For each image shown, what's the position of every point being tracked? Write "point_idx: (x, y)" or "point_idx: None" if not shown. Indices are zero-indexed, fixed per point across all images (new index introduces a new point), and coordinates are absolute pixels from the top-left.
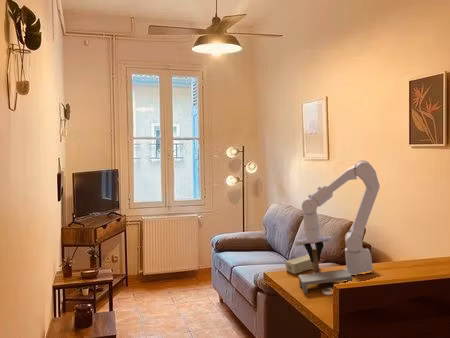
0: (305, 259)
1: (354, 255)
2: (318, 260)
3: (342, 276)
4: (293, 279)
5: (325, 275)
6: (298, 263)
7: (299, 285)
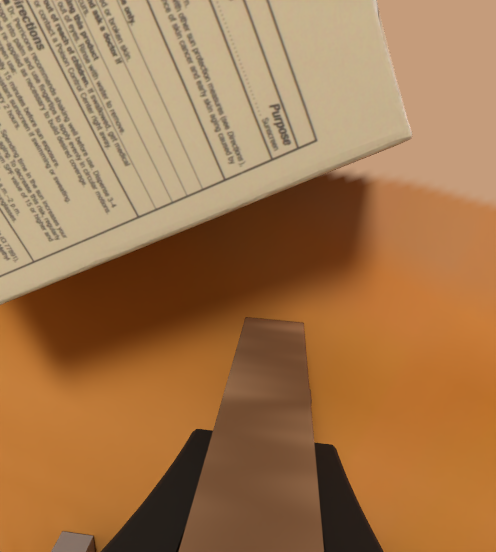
0: (156, 178)
1: None
2: None
3: None
4: (20, 394)
5: None
6: (23, 293)
7: (60, 535)
